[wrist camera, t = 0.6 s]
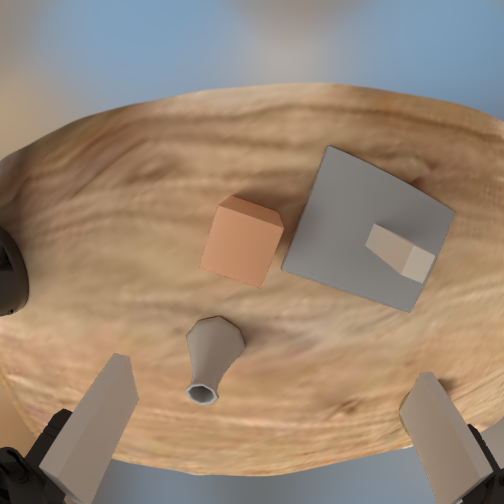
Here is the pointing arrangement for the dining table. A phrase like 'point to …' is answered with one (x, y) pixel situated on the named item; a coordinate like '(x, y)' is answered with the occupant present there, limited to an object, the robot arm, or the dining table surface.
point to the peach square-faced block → (242, 241)
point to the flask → (211, 356)
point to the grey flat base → (367, 232)
